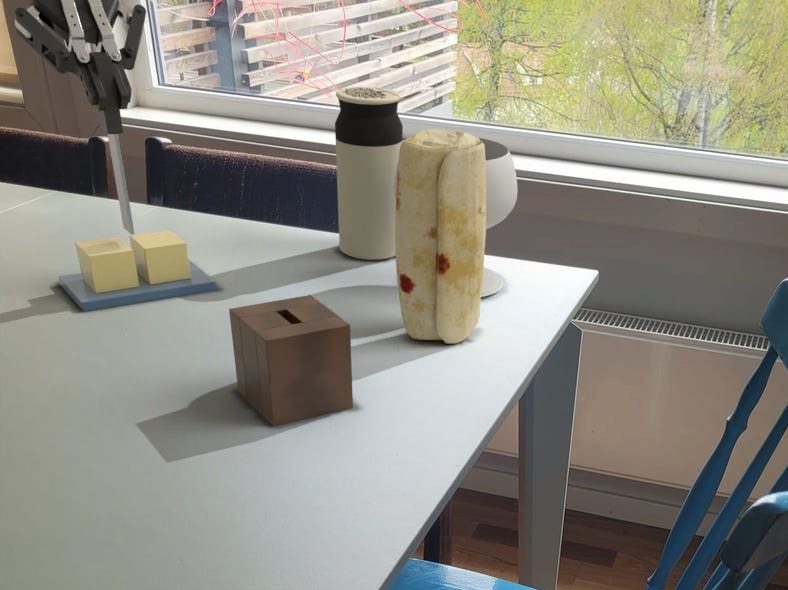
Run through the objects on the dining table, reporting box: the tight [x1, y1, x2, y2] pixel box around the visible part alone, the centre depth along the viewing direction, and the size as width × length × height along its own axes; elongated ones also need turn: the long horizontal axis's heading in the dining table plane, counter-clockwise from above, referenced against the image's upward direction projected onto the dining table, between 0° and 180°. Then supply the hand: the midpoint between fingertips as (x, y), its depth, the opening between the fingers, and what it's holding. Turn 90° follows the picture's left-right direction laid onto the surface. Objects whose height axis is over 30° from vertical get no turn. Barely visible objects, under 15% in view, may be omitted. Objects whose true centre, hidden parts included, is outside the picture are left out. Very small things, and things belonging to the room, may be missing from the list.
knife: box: [88, 51, 136, 235], centre depth 104 cm, size 2×3×17 cm, turn 33°
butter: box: [58, 229, 217, 312], centre depth 112 cm, size 15×9×5 cm, turn 123°
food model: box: [395, 128, 487, 345], centre depth 100 cm, size 10×7×20 cm
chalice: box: [394, 137, 519, 298], centre depth 114 cm, size 14×14×15 cm
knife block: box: [228, 294, 354, 427], centre depth 90 cm, size 8×8×8 cm
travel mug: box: [334, 86, 404, 261], centre depth 121 cm, size 8×8×18 cm
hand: (113, 104), depth 100 cm, fingers closed on knife, 1 cm apart
